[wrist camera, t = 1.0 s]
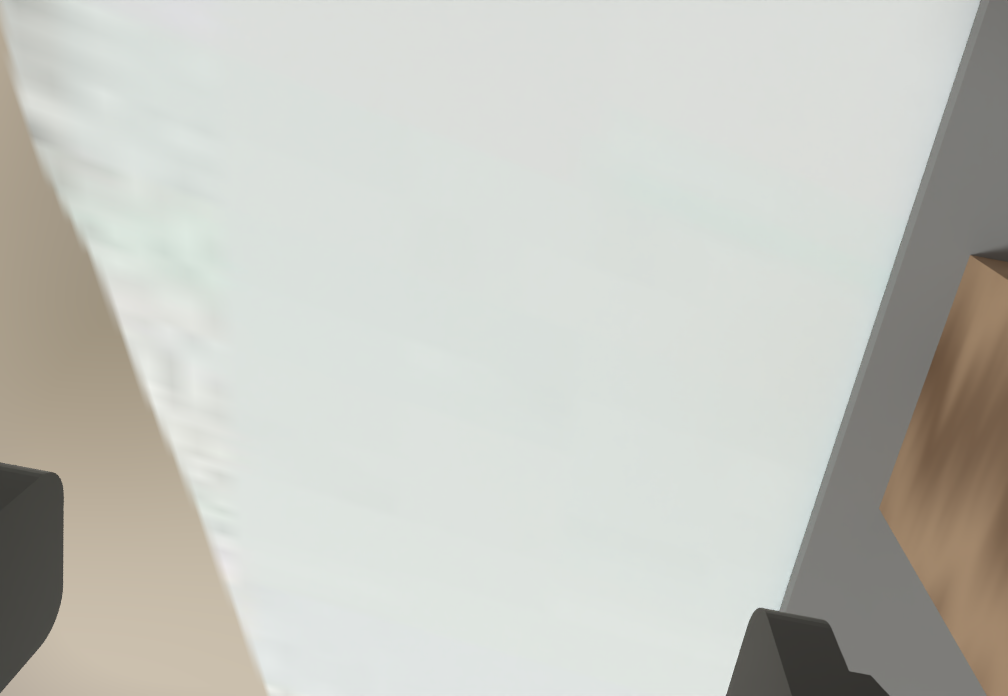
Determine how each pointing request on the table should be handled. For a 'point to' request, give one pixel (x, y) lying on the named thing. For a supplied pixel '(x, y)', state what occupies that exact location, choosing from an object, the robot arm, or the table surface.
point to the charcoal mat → (909, 394)
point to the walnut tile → (962, 475)
